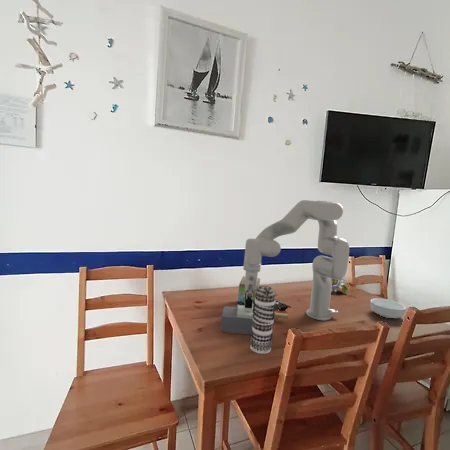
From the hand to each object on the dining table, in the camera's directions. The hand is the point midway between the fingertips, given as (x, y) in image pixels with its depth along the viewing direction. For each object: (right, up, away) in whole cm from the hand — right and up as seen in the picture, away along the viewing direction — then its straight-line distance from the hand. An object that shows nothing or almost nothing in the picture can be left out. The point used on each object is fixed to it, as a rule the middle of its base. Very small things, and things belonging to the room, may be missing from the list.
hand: (248, 303), depth 135 cm
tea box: (+2, -9, +26) cm, 28 cm away
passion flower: (+63, -9, +63) cm, 89 cm away
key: (+14, -11, +12) cm, 22 cm away
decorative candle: (+4, -14, -14) cm, 21 cm away
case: (-3, -11, +2) cm, 12 cm away
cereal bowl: (+77, -14, +28) cm, 83 cm away
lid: (0, -5, +1) cm, 5 cm away
